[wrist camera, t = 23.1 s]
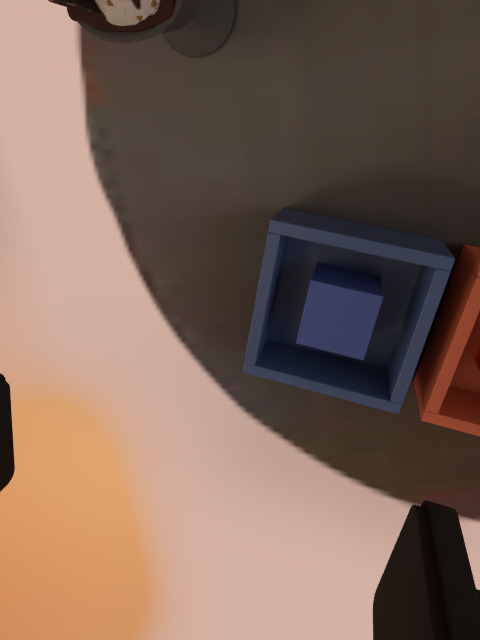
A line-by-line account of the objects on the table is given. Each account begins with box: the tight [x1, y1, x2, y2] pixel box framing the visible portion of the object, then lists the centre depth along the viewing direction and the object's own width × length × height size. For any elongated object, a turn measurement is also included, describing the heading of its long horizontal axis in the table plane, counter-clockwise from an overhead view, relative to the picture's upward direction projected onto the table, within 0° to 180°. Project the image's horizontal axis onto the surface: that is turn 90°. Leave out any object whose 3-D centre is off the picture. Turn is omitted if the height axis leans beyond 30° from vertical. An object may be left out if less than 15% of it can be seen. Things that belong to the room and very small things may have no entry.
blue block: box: [296, 263, 383, 360], centre depth 30 cm, size 4×4×4 cm
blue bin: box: [242, 208, 455, 414], centre depth 30 cm, size 11×11×5 cm
